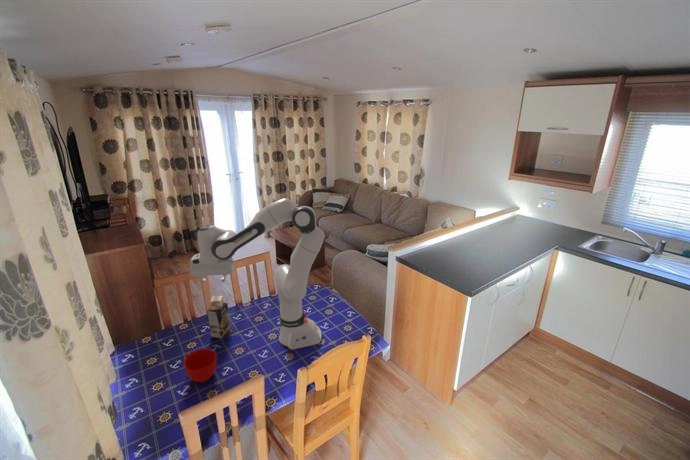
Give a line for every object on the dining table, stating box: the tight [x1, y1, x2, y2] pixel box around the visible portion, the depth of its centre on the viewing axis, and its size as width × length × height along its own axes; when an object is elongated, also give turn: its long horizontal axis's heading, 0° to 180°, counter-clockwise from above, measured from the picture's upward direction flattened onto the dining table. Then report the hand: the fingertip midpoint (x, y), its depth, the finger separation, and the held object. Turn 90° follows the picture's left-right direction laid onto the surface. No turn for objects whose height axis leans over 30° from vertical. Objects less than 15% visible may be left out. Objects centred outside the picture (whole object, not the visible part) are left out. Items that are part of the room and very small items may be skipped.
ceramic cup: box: [183, 348, 218, 383], centre depth 142 cm, size 13×17×10 cm
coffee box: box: [207, 302, 231, 339], centre depth 169 cm, size 9×6×16 cm
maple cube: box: [209, 295, 225, 310], centre depth 165 cm, size 5×5×5 cm
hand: (214, 282), depth 161 cm, fingers open, 8 cm apart
